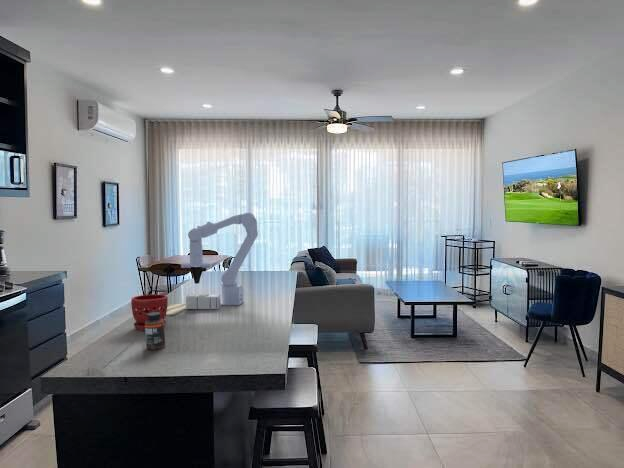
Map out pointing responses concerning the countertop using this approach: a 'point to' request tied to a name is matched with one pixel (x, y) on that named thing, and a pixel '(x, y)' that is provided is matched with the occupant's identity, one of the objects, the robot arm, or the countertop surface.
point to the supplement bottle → (154, 331)
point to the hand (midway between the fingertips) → (197, 283)
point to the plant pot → (148, 303)
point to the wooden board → (175, 309)
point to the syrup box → (202, 301)
